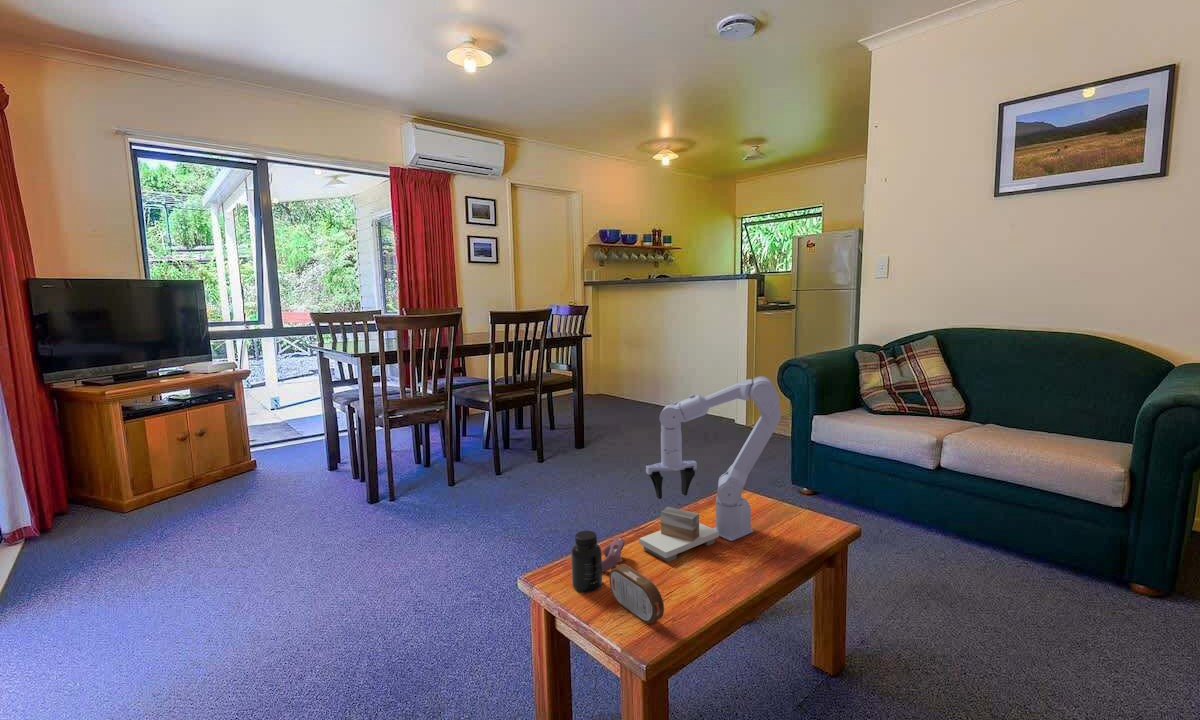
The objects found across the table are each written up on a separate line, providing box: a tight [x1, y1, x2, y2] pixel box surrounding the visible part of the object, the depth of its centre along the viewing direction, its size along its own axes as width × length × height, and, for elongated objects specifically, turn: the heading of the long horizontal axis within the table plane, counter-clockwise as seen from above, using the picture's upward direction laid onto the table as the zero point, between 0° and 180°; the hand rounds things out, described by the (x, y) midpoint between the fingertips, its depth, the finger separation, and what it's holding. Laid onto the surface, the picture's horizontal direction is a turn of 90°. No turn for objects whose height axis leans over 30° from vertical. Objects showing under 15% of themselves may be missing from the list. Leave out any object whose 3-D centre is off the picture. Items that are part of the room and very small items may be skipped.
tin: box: [609, 563, 665, 625], centre depth 107 cm, size 15×3×8 cm, turn 35°
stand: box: [638, 522, 720, 563], centre depth 136 cm, size 19×10×3 cm, turn 126°
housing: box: [660, 506, 700, 542], centre depth 136 cm, size 4×9×6 cm, turn 56°
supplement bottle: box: [570, 530, 603, 594], centre depth 117 cm, size 7×7×12 cm
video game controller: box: [602, 537, 626, 573], centre depth 127 cm, size 10×5×7 cm, turn 169°
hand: (671, 496), depth 146 cm, fingers open, 7 cm apart
